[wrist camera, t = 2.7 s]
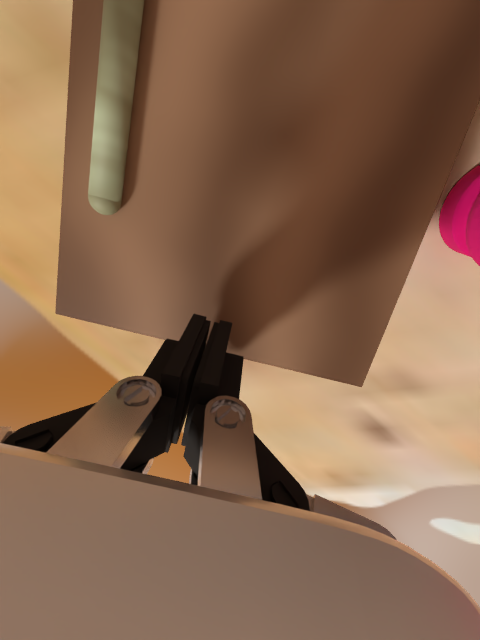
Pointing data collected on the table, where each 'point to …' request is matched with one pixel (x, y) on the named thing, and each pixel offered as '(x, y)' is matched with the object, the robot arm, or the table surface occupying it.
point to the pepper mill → (463, 216)
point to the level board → (259, 166)
